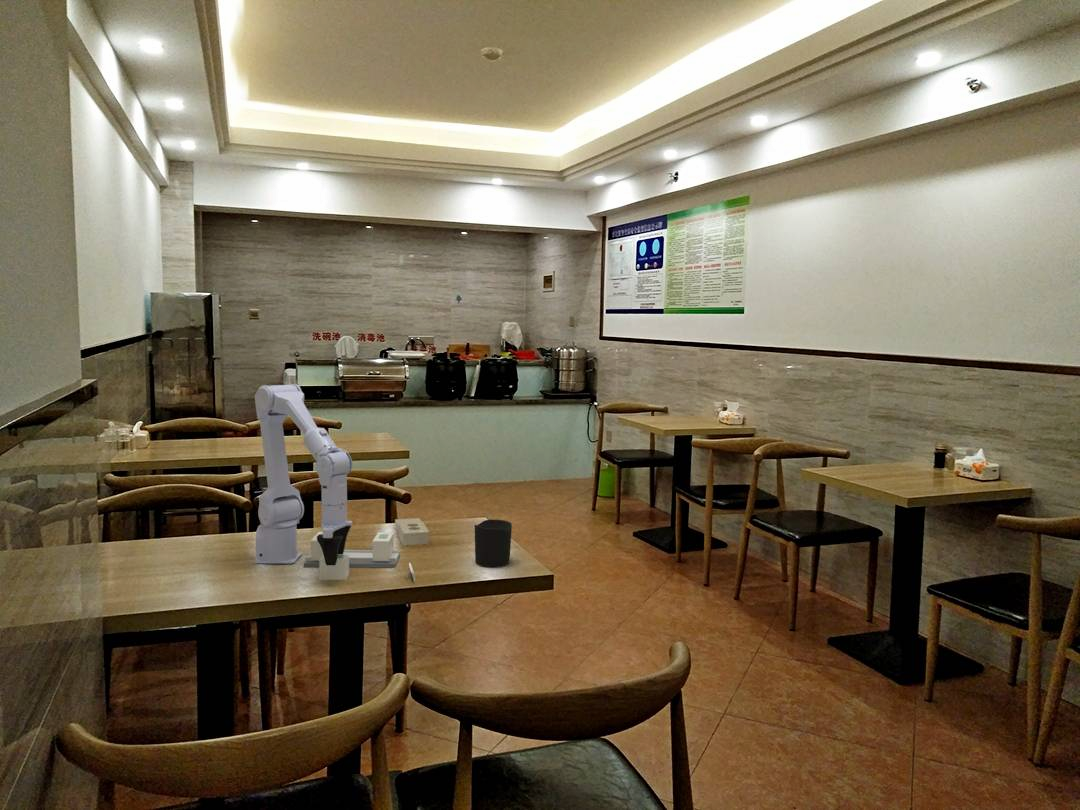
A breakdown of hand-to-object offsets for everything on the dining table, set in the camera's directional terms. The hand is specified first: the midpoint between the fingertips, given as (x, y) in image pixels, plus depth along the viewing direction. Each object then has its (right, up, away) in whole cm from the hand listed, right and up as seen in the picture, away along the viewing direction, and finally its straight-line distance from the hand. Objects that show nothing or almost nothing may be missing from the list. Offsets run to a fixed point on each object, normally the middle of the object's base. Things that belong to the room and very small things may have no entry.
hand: (334, 559), depth 175 cm
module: (0, -4, 0) cm, 4 cm away
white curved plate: (+17, -5, +1) cm, 17 cm away
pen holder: (+36, -4, +14) cm, 39 cm away
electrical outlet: (+12, -1, +37) cm, 38 cm away
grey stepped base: (+1, -3, +12) cm, 13 cm away
